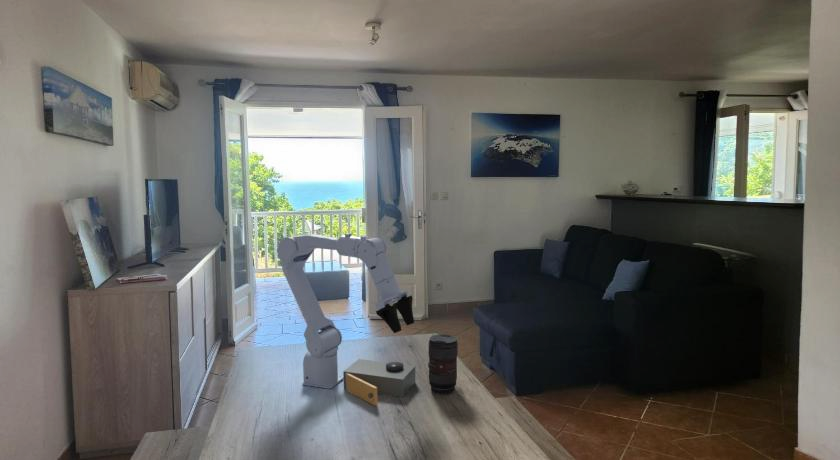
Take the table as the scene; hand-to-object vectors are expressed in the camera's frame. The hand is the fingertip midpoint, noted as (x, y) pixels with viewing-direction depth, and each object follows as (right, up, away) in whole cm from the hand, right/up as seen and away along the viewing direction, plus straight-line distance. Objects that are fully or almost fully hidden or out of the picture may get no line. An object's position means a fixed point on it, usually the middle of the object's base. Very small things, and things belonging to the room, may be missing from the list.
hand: (404, 327), depth 138 cm
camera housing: (-7, -19, +11) cm, 23 cm away
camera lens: (+11, -19, +8) cm, 23 cm away
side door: (-12, -20, +3) cm, 23 cm away
